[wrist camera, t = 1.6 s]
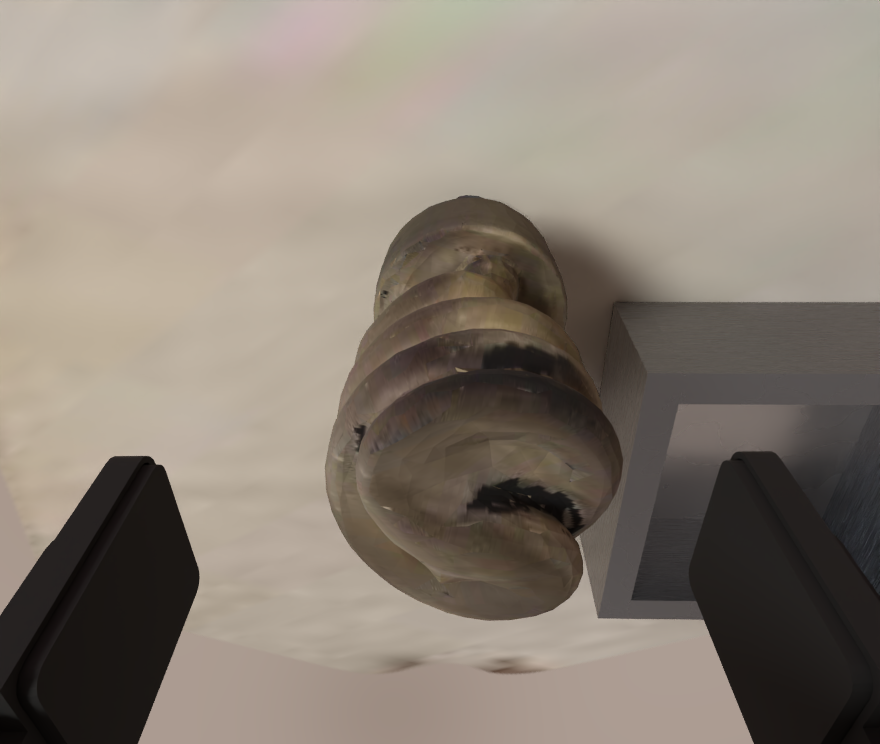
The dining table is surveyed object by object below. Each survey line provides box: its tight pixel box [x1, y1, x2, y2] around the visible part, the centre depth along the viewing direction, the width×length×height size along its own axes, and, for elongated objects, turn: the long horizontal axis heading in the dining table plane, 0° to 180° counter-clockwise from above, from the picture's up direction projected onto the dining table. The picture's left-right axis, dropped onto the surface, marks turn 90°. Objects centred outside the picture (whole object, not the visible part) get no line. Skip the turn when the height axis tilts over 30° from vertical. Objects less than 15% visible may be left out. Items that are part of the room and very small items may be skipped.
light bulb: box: [325, 195, 623, 621], centre depth 16 cm, size 6×6×15 cm
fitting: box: [580, 302, 880, 620], centre depth 25 cm, size 12×12×5 cm
